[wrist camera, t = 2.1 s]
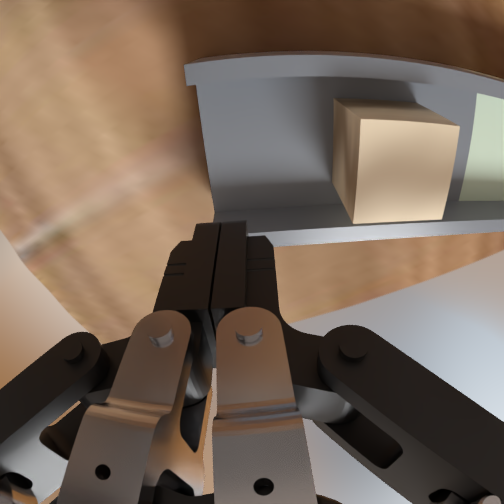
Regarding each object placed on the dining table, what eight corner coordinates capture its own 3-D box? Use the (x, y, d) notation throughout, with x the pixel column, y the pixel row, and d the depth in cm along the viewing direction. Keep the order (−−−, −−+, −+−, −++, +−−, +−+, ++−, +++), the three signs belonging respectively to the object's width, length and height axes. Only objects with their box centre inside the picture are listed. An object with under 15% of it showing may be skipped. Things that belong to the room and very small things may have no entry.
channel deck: (201, 58, 16) (183, 64, 12) (573, 105, 15) (612, 128, 11) (220, 202, 22) (213, 251, 18) (553, 195, 21) (584, 226, 17)
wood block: (333, 98, 15) (360, 119, 12) (416, 102, 15) (460, 126, 11) (331, 182, 18) (352, 223, 15) (408, 180, 18) (441, 219, 14)
